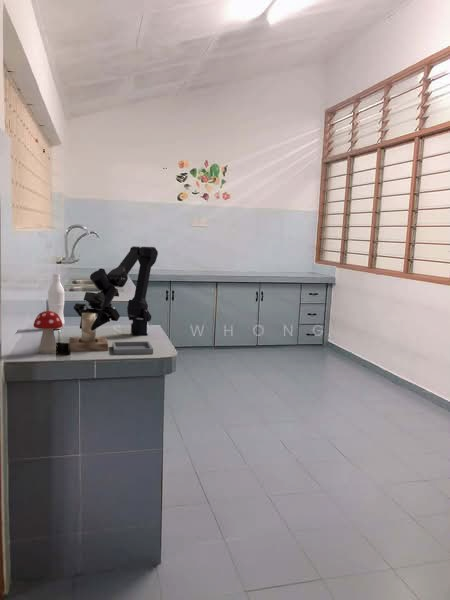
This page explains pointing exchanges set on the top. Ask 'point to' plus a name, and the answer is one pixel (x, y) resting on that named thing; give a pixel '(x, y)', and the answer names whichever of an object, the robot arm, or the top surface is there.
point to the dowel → (88, 327)
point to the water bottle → (56, 297)
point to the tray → (132, 348)
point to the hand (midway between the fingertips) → (86, 329)
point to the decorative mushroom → (47, 330)
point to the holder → (88, 344)
